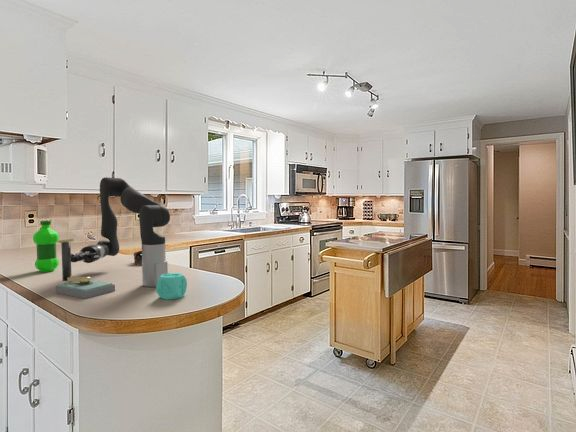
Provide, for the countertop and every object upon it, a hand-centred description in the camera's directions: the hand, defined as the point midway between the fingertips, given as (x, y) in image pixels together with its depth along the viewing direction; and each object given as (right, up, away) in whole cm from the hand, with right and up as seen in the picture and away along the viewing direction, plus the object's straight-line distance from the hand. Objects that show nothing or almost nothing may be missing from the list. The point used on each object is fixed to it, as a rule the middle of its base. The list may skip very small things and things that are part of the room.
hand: (73, 259), depth 141 cm
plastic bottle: (-32, -10, +31) cm, 46 cm away
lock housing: (+10, -11, -8) cm, 17 cm away
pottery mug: (+6, -9, +52) cm, 53 cm away
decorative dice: (+45, -12, -14) cm, 49 cm away
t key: (+5, -8, -6) cm, 11 cm away
